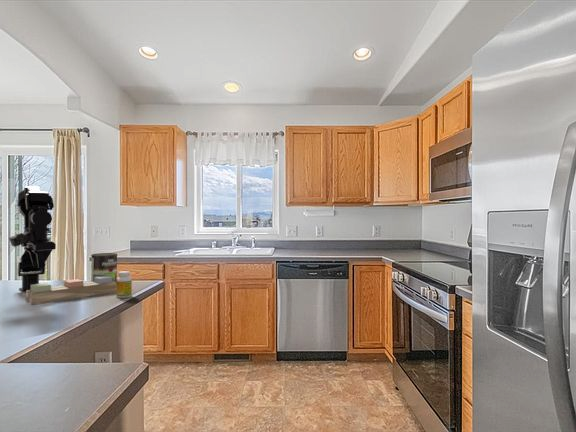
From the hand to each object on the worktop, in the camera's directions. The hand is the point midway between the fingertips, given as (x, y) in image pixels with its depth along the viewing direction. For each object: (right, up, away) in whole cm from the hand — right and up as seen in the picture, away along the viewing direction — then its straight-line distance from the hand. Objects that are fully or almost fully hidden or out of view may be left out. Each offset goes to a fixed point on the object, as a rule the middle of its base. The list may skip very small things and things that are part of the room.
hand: (37, 267), depth 134 cm
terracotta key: (+10, -10, +6) cm, 15 cm away
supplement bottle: (+29, -13, +7) cm, 32 cm away
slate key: (+17, -10, +14) cm, 24 cm away
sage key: (+3, -10, -2) cm, 11 cm away
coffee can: (+12, -12, +25) cm, 30 cm away
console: (+10, -12, +6) cm, 17 cm away
